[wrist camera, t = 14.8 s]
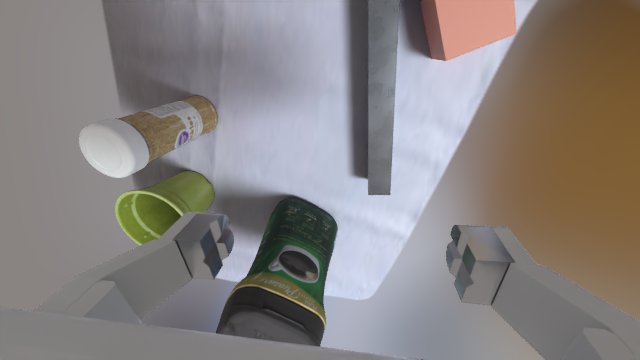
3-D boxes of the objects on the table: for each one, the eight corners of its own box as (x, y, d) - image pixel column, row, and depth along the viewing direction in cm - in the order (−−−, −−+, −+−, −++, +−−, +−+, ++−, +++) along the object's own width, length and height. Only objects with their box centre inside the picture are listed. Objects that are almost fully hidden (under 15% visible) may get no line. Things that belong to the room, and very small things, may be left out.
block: (419, 2, 23) (433, -9, 18) (480, -27, 21) (510, -46, 17) (431, 58, 25) (446, 60, 20) (487, 36, 23) (516, 33, 19)
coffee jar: (265, 225, 38) (193, 357, 22) (286, 187, 34) (217, 313, 18) (321, 253, 39) (291, 400, 23) (346, 219, 35) (333, 366, 19)
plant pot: (225, 167, 34) (186, 201, 27) (227, 220, 39) (194, 262, 31) (161, 153, 35) (105, 183, 27) (170, 208, 39) (124, 246, 32)
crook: (367, -36, 22) (368, -51, 19) (458, -49, 21) (476, -69, 17) (367, 178, 32) (368, 194, 28) (429, 178, 31) (437, 195, 27)
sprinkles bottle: (219, 135, 32) (136, 186, 20) (185, 126, 32) (83, 172, 20) (219, 99, 30) (126, 133, 18) (183, 90, 30) (67, 118, 18)
